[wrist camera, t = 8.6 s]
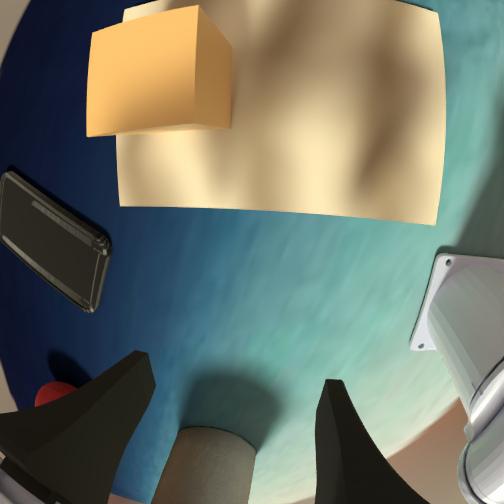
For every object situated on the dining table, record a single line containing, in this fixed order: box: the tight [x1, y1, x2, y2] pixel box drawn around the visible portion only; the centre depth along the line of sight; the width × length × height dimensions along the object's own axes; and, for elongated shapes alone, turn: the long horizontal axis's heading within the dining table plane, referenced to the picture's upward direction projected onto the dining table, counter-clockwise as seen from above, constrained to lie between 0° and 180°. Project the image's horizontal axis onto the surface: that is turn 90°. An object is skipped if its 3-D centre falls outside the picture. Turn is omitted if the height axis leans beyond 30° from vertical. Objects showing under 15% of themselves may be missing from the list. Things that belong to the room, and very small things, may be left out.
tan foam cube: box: [87, 5, 232, 137], centre depth 12 cm, size 5×5×6 cm
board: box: [116, 0, 446, 225], centre depth 13 cm, size 20×14×4 cm
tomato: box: [35, 381, 77, 407], centre depth 26 cm, size 9×9×8 cm
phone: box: [0, 171, 112, 313], centre depth 21 cm, size 8×1×15 cm
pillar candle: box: [151, 427, 256, 504], centre depth 22 cm, size 10×10×15 cm
